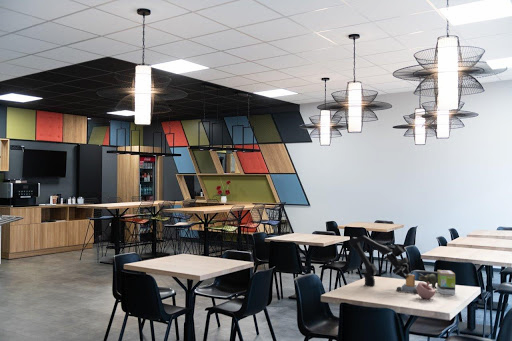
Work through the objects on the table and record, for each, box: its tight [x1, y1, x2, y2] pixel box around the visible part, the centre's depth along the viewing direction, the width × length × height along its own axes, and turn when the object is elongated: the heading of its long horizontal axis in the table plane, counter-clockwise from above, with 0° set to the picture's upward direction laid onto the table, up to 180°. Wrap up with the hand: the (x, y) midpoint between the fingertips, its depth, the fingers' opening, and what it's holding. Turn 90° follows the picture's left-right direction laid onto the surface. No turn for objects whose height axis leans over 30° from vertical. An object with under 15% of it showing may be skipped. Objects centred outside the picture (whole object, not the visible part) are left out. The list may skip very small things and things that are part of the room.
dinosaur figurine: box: [418, 272, 437, 290], centre depth 355 cm, size 22×8×11 cm, turn 123°
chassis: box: [396, 283, 418, 294], centre depth 344 cm, size 16×15×4 cm
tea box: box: [436, 269, 456, 296], centre depth 339 cm, size 15×10×15 cm, turn 168°
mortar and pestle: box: [416, 281, 436, 300], centre depth 319 cm, size 12×12×12 cm
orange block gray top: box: [405, 273, 416, 287], centre depth 344 cm, size 5×4×11 cm
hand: (408, 277), depth 345 cm, fingers open, 9 cm apart
